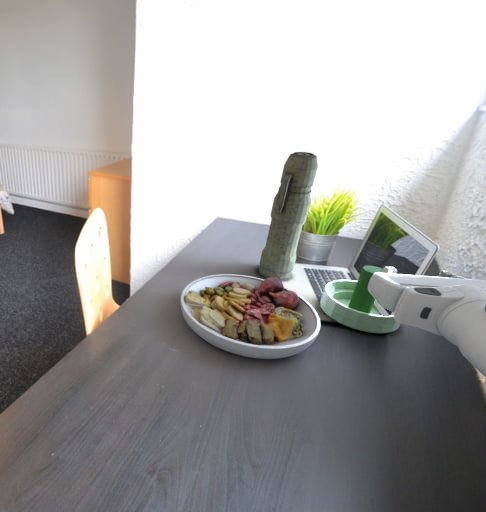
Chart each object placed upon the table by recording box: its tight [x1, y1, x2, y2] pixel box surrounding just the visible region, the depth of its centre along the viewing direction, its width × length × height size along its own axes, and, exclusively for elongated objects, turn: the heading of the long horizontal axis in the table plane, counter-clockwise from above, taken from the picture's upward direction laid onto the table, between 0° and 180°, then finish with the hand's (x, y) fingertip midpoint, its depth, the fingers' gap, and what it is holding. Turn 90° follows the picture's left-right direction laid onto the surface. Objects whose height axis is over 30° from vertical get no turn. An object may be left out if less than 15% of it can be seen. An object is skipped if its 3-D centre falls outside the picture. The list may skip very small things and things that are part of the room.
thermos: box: [258, 151, 319, 282], centre depth 101 cm, size 9×12×35 cm
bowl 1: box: [180, 273, 321, 360], centre depth 87 cm, size 30×30×8 cm
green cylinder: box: [348, 264, 384, 314], centre depth 88 cm, size 4×4×12 cm
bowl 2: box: [319, 279, 401, 334], centre depth 89 cm, size 16×16×5 cm
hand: (414, 271), depth 72 cm, fingers open, 8 cm apart
